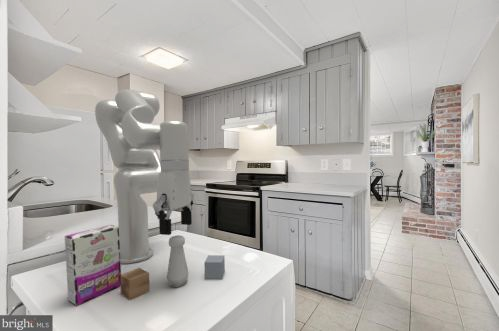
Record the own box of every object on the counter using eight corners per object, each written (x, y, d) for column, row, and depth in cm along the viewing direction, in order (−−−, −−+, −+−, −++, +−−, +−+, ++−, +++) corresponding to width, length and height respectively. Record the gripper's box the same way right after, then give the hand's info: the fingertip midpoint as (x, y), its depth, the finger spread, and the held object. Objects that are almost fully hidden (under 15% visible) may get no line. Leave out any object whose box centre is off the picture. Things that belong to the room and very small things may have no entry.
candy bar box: (112, 281, 69) (110, 224, 68) (122, 285, 66) (120, 226, 66) (66, 300, 59) (63, 234, 59) (75, 307, 57) (73, 238, 56)
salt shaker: (182, 289, 63) (181, 240, 63) (162, 287, 64) (161, 239, 64) (192, 278, 69) (190, 233, 69) (173, 277, 70) (172, 233, 70)
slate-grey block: (204, 279, 69) (204, 262, 69) (208, 271, 74) (208, 255, 74) (222, 279, 68) (221, 262, 68) (224, 271, 73) (224, 255, 73)
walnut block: (121, 294, 62) (120, 274, 62) (139, 285, 66) (139, 267, 66) (130, 300, 59) (130, 280, 59) (149, 291, 63) (149, 272, 63)
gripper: (181, 166, 75) (182, 220, 76) (140, 168, 59) (142, 237, 59) (202, 166, 73) (204, 222, 73) (166, 168, 57) (169, 240, 57)
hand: (176, 229), depth 66 cm, fingers open, 9 cm apart
